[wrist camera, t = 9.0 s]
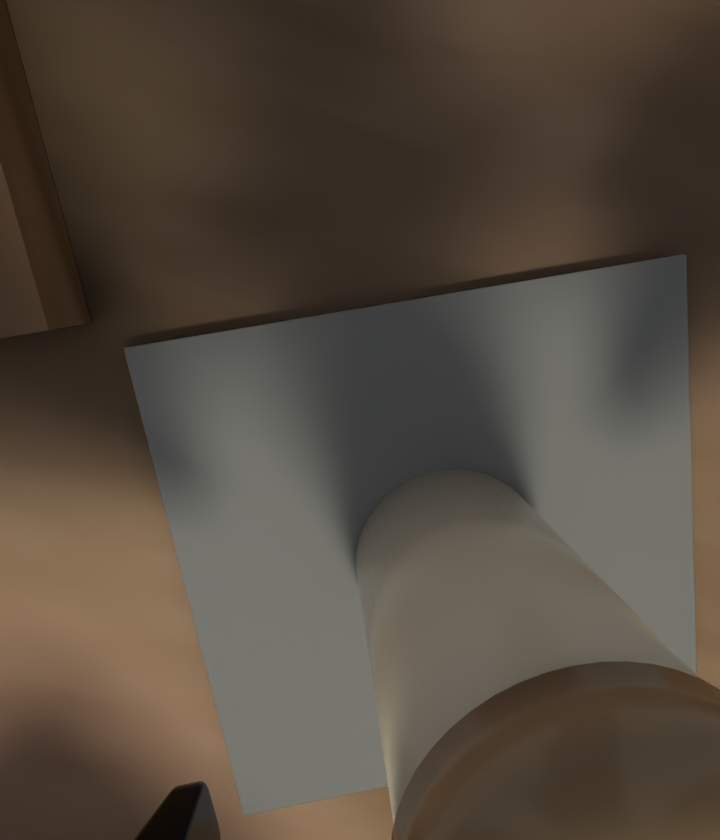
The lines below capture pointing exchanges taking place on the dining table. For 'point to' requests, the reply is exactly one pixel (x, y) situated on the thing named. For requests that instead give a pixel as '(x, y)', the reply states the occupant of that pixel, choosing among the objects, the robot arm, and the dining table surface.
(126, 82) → the dining table surface
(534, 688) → the jar
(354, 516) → the mat
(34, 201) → the pocket frame
